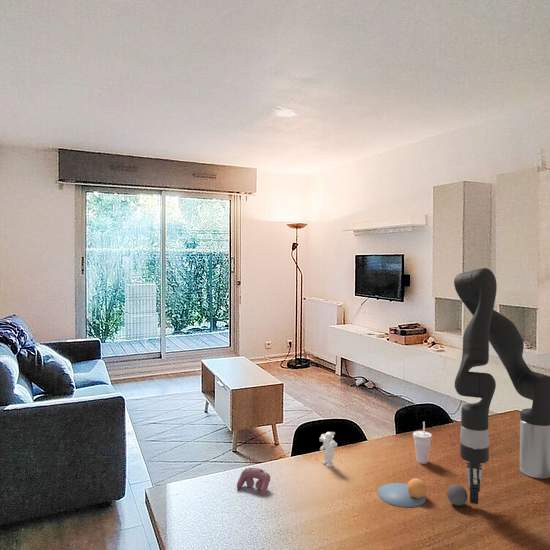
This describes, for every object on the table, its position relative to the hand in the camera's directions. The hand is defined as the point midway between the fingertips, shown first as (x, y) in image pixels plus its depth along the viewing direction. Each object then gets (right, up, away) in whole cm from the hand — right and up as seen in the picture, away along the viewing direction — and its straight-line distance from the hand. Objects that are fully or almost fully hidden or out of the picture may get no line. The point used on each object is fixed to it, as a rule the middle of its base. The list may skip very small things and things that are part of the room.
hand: (473, 502), depth 131 cm
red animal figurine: (-63, -2, +12) cm, 64 cm away
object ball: (-15, +1, +6) cm, 16 cm away
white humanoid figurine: (-38, -1, +29) cm, 48 cm away
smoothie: (-5, -1, +30) cm, 31 cm away
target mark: (-19, -1, +7) cm, 20 cm away
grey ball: (-4, +1, +2) cm, 5 cm away
